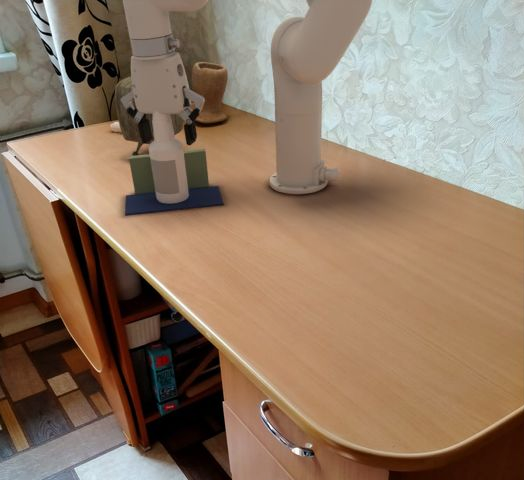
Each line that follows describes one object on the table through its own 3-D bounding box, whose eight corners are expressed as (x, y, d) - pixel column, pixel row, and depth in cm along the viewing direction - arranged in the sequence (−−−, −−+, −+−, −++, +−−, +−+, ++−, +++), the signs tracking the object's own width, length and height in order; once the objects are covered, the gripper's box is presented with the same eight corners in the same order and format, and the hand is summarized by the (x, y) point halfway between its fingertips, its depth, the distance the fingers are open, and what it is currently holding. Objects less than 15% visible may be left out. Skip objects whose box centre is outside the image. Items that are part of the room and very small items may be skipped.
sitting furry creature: (139, 123, 166) (132, 79, 159) (155, 129, 161) (148, 83, 153) (110, 131, 162) (101, 85, 154) (125, 137, 156) (116, 90, 149)
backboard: (209, 187, 126) (205, 151, 121) (135, 195, 124) (128, 158, 119) (208, 185, 127) (204, 148, 122) (135, 192, 125) (128, 156, 120)
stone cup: (238, 121, 164) (234, 63, 155) (201, 129, 159) (195, 70, 150) (213, 110, 175) (208, 55, 165) (177, 117, 170) (170, 61, 161)
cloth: (223, 205, 118) (223, 203, 118) (125, 215, 116) (124, 213, 115) (218, 187, 125) (218, 185, 125) (126, 196, 123) (125, 195, 123)
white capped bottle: (154, 194, 123) (140, 105, 112) (185, 189, 124) (174, 101, 113) (159, 206, 117) (145, 115, 106) (192, 201, 119) (181, 110, 108)
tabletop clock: (162, 142, 152) (147, 36, 136) (189, 147, 148) (177, 38, 133) (125, 159, 142) (104, 47, 127) (153, 165, 138) (135, 50, 123)
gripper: (204, 41, 104) (216, 137, 114) (121, 43, 109) (139, 135, 119) (187, 50, 98) (201, 150, 109) (100, 52, 103) (122, 147, 114)
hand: (169, 142), depth 114 cm, fingers open, 9 cm apart
